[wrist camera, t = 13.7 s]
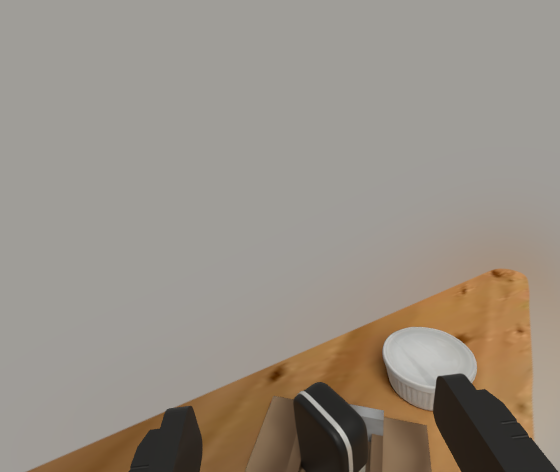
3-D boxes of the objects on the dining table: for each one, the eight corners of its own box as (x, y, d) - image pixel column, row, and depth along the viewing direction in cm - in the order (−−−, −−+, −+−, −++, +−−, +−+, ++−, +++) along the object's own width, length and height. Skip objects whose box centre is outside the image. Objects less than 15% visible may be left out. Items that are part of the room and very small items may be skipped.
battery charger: (374, 499, 31) (375, 418, 27) (346, 529, 29) (342, 447, 25) (325, 444, 36) (319, 368, 32) (299, 465, 35) (289, 389, 30)
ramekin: (368, 390, 44) (368, 361, 42) (400, 343, 52) (402, 316, 49) (458, 438, 37) (463, 406, 35) (480, 375, 44) (486, 345, 42)
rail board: (225, 534, 31) (215, 502, 29) (274, 402, 44) (270, 373, 42) (444, 612, 25) (450, 579, 23) (425, 432, 38) (429, 401, 36)
